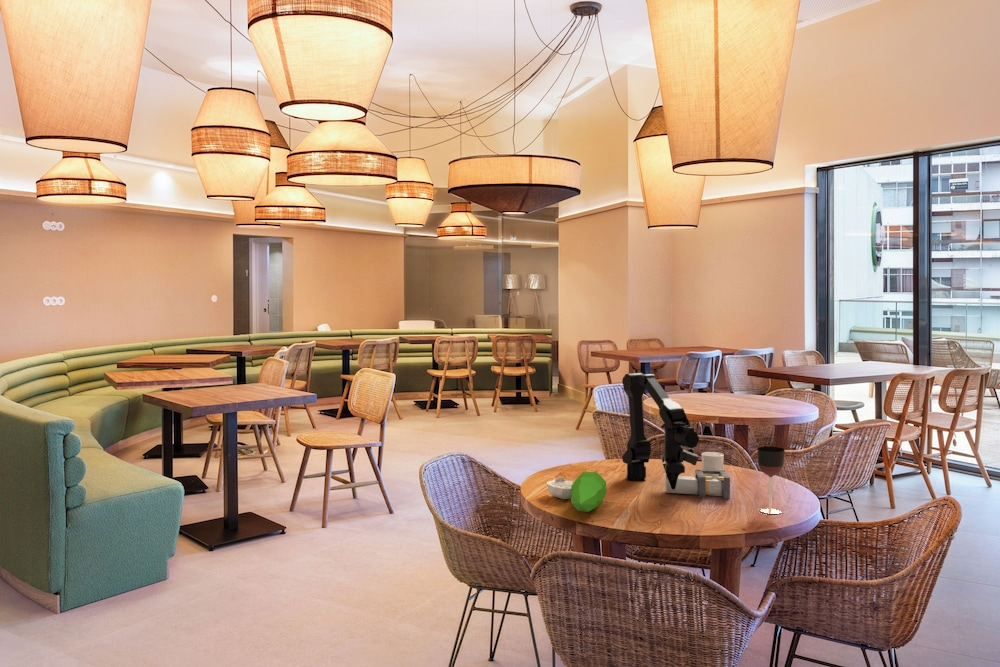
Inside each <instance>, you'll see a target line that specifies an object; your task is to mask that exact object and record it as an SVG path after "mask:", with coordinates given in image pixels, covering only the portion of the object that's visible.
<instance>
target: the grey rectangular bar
mask: <svg viewBox="0 0 1000 667" xmlns="http://www.w3.org/2000/svg"><path fill="white" fill-rule="evenodd" d="M664 486H665V487H664V490H665V492H666V493H668V494H669V493H670V494H684V495H696V496H697V495H698V496H699V478H698V477H695V476H685V475H679V476H678V479H677V483H676V487H675V489H672V488H671V485H670V483H669V480H668V477H667V475H666V474H665V485H664ZM705 496H715V497H723V480H717V478H712V480H706V492H705Z"/></svg>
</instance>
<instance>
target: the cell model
mask: <svg viewBox="0 0 1000 667" xmlns="http://www.w3.org/2000/svg"><path fill="white" fill-rule="evenodd" d="M573 482H574V481H573V480H569V479H565V478H564V477H561V476H558V477H557V478H555V479H554V480H553V479H552V480H550V481H547V482H546V486H547V491H548V493H549V494H550V495H551V496H553V497H555V498H559V499H561V500H567V499H569V500H570V499H571V485H572V484H573Z"/></svg>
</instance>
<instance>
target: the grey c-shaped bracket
mask: <svg viewBox="0 0 1000 667" xmlns="http://www.w3.org/2000/svg"><path fill="white" fill-rule="evenodd" d="M694 472H695V473H694V477H698V478H699V495H698V498H699V499H706V495H705V492H706V480H712V477H711V476H705V475H704V474H719V476H717V480H723V496H722V498H723V500H731V477H730V476H729V474H728V473H727V471H726V470H725V469H723V470H702V469H695V470H694Z"/></svg>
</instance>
